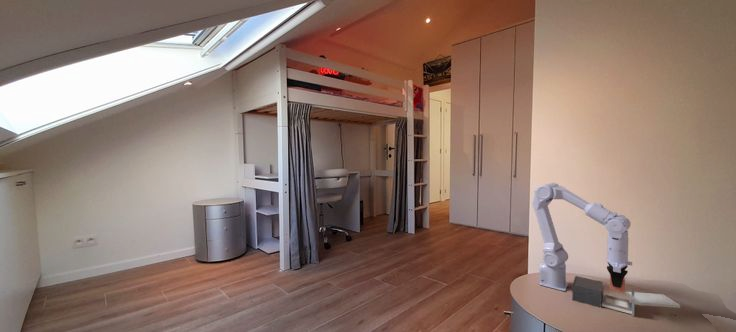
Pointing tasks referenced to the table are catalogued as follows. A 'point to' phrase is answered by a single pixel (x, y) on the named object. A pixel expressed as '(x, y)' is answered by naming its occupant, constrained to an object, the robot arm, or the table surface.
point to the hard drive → (653, 299)
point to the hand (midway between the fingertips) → (616, 284)
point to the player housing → (587, 291)
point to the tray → (619, 303)
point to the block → (617, 287)
